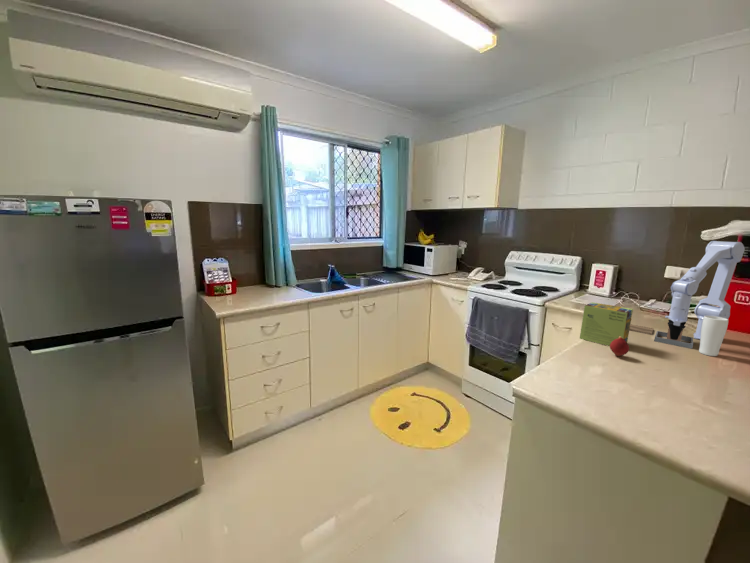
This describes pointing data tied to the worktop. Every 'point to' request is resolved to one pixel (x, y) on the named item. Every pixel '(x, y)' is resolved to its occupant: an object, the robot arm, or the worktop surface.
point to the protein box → (605, 323)
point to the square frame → (673, 342)
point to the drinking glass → (712, 334)
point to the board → (641, 329)
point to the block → (678, 337)
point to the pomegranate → (619, 346)
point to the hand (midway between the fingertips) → (673, 337)
